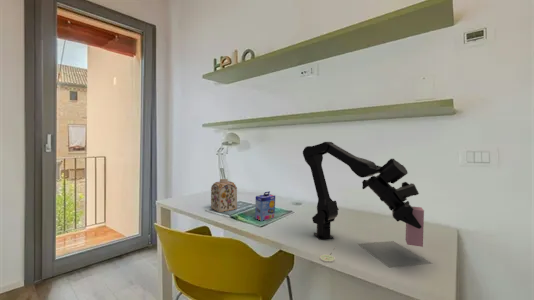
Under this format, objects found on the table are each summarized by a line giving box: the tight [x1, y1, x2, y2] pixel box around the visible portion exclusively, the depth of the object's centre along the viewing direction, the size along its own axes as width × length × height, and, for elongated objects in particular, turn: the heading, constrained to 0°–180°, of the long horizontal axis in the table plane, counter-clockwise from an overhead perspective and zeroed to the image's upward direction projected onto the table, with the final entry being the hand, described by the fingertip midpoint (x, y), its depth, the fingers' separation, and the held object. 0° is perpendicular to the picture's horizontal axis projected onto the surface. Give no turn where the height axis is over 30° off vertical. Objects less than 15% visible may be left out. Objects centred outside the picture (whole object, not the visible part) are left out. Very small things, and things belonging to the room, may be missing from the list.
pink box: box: [405, 206, 425, 248], centre depth 85 cm, size 4×4×12 cm
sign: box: [319, 247, 336, 264], centre depth 91 cm, size 5×1×15 cm
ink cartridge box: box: [254, 191, 276, 222], centre depth 132 cm, size 10×6×14 cm, turn 132°
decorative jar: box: [210, 178, 238, 213], centre depth 150 cm, size 12×12×18 cm
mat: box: [357, 240, 432, 268], centre depth 91 cm, size 19×16×1 cm
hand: (419, 225), depth 85 cm, fingers closed on pink box, 4 cm apart
